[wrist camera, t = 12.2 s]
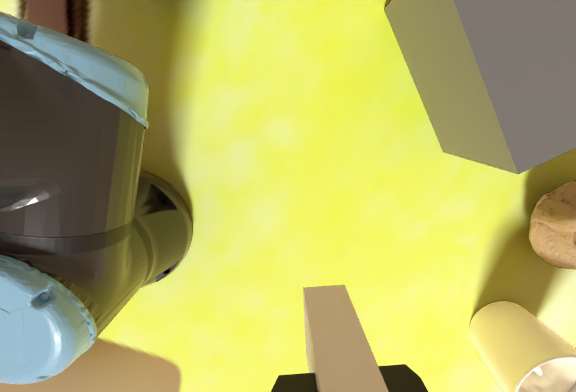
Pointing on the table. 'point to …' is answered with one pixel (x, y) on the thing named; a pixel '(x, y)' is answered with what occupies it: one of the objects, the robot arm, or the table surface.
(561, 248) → the oil lamp
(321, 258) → the table surface
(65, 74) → the robot arm
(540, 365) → the candle holder
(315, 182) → the table surface
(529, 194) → the table surface
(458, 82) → the cabinet with door
